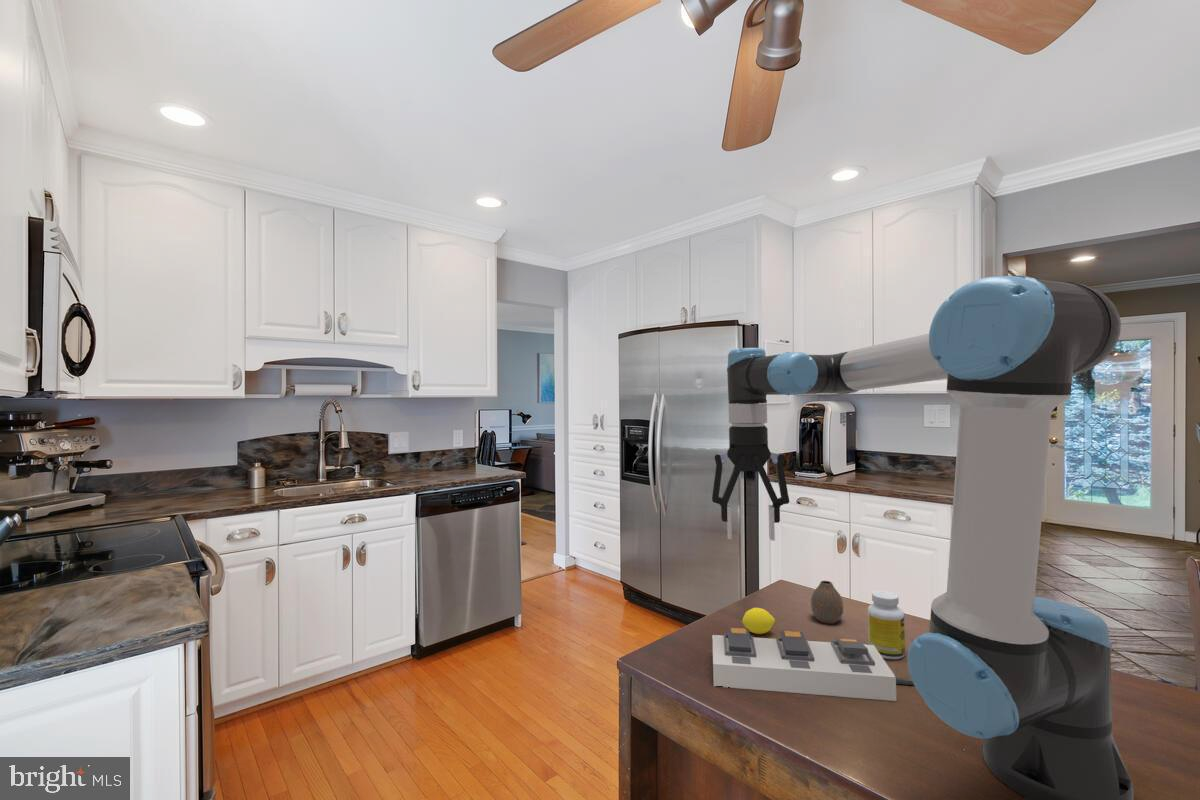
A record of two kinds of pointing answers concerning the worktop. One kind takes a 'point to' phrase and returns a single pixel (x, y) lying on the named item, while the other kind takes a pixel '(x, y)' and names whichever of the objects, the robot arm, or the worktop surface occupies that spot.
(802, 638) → the dark grey flat block
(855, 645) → the rocker
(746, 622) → the lemon
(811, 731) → the worktop surface
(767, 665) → the rocker switch box
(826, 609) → the vase
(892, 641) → the pill bottle
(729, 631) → the rocker
